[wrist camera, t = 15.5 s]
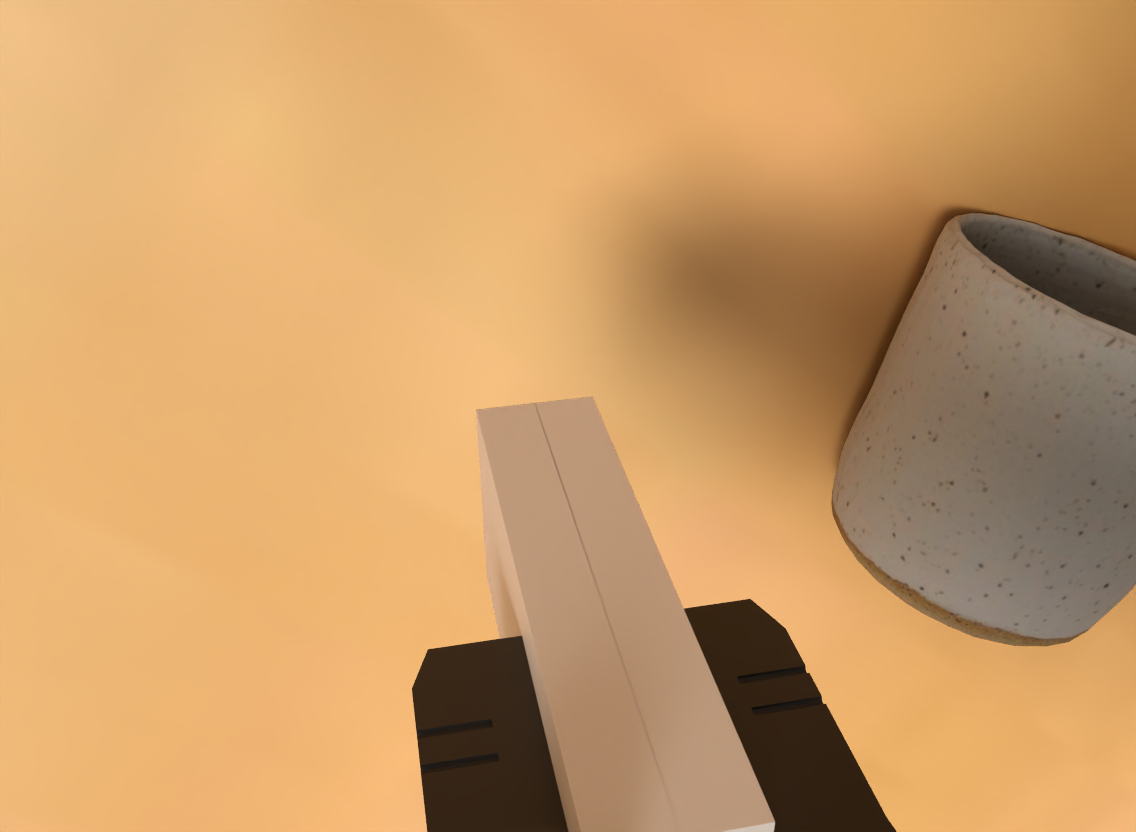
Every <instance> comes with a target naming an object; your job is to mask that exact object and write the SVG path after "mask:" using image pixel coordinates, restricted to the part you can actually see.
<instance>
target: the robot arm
mask: <svg viewBox="0 0 1136 832" xmlns="http://www.w3.org/2000/svg"><path fill="white" fill-rule="evenodd" d="M476 415H477V431H478V446H479V462H480V477H481V493H482V508H483V524H484V539H485V555H486V570H487V579H488V584H489V589H490V593H491V598H492V603H493V608H494V612H495V617H496V622H497V627H498V631H499V636H500V639H496V640H489V641H482V642H475V643H469V644H462V645H455V646H448V647H442V648H435V649H428V651H427V653H426V656H425V658H424V661H423V663H422V665H421V668H420V670H419V673H418V675H417V678H416V680H415V683H414V685H413V687H412V694H413V703H414V712H415V721H416V731H417V740H418V749H419V758H420V767H421V777H422V786H423V795H424V805H425V814H426V823H427V832H896V830H895V829H894V827H893V826H892V824H891V823H890V822H889V820H888V819H887V817H886V816H885V814H884V812H883V810H882V808H881V806H880V804H879V802H878V801H877V799H876V797H875V795H874V793H873V791H872V789H871V787H870V786H869V784H868V782H867V780H866V778H865V776H864V774H863V773H862V771H861V769H860V767H859V765H858V763H857V761H856V759H855V758H854V756H853V754H852V752H851V750H850V748H849V746H848V744H847V743H846V741H845V739H844V737H843V735H842V733H841V731H840V729H839V728H838V726H837V724H836V722H835V720H834V718H833V716H832V715H831V713H830V711H829V709H828V707H827V705H826V704H823V702H822V696H821V694H820V692H819V690H818V688H817V686H816V685H815V683H814V681H813V679H812V677H811V675H810V673H807V672H806V669H805V664H804V662H803V660H802V658H801V657H800V655H799V653H798V651H797V649H796V647H795V645H794V643H793V642H792V640H791V638H790V636H789V634H788V632H787V630H786V629H785V628H784V627H783V626H782V625H781V624H780V623H778V622H777V621H776V620H775V619H774V618H772V617H771V616H770V615H769V614H768V613H766V612H765V611H764V610H763V609H762V608H760V607H759V606H758V605H757V604H756V603H754V602H753V601H752V600H751V599H747V600H740V601H733V602H726V603H720V604H713V605H706V606H699V607H692V608H686V609H684V608H683V606H682V604H681V601H680V599H679V597H678V594H677V592H676V590H675V587H674V585H673V583H672V580H671V578H670V576H669V573H668V571H667V569H666V567H665V564H664V562H663V560H662V557H661V555H660V553H659V550H658V548H657V546H656V543H655V541H654V539H653V536H652V534H651V532H650V529H649V527H648V525H647V522H646V520H645V518H644V515H643V513H642V511H641V508H640V506H639V504H638V501H637V499H636V497H635V494H634V492H633V490H632V487H631V485H630V483H629V480H628V478H627V476H626V473H625V471H624V469H623V466H622V464H621V462H620V459H619V457H618V455H617V453H616V450H615V448H614V446H613V443H612V441H611V439H610V436H609V434H608V432H607V429H606V427H605V425H604V422H603V420H602V418H601V415H600V413H599V411H598V408H597V406H596V404H595V401H594V399H593V397H583V398H575V399H566V400H557V401H548V402H539V403H530V404H522V405H513V406H504V407H495V408H486V409H477V410H476Z"/></svg>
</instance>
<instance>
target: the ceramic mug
mask: <svg viewBox="0 0 1136 832" xmlns="http://www.w3.org/2000/svg"><path fill="white" fill-rule="evenodd" d="M832 512H833V516H834V519H835V521H836V524H837V526H838V529H839V531H840V533H841V535H842V537H843V539H844V541H845V543H846V544H847V546H848V547H849V549H850V550H851V551H852V553H853V554H854V556H855V557H856V559H857V560H858V561H859V562H860V563H861V564H862V565H863V567H864V568H865V569H866V570H867V571H868V572H869V573H870V574H871V575H872V576H873V577H874V578H875V579H876V580H877V581H878V582H879V583H881V584H882V585H883V586H885V587H886V588H887V589H888V590H890V591H891V592H892V593H894V594H895V595H896V596H898V597H899V598H900V599H901V600H903V601H904V602H905V603H907V604H908V605H910V606H912V607H913V608H915V609H917V610H918V611H920V612H921V613H923V614H925V615H927V616H929V617H931V618H933V619H935V620H937V621H939V622H941V623H943V624H945V625H947V626H949V627H952V628H954V629H957V630H959V631H961V632H964V633H966V634H969V635H971V636H973V637H977V638H981V639H985V640H990V641H994V642H999V643H1003V644H1008V645H1013V646H1050V645H1055V644H1060V643H1065V642H1069V641H1071V640H1073V639H1074V638H1076V637H1078V636H1079V635H1081V634H1083V633H1085V632H1086V631H1088V630H1089V629H1090V628H1091V627H1092V626H1093V625H1094V624H1095V623H1096V622H1098V621H1099V620H1100V619H1101V618H1102V617H1103V616H1104V615H1105V614H1106V613H1108V612H1109V611H1110V610H1111V609H1112V608H1113V607H1114V606H1115V605H1116V604H1117V603H1119V602H1120V601H1121V600H1122V599H1123V598H1124V596H1125V595H1126V594H1127V593H1128V592H1129V591H1130V590H1131V589H1132V588H1133V587H1134V586H1135V584H1136V261H1135V260H1133V259H1131V258H1129V257H1126V256H1123V255H1120V254H1117V253H1115V252H1113V251H1111V250H1108V249H1106V248H1104V247H1101V246H1099V245H1096V244H1094V243H1091V242H1088V241H1086V240H1084V239H1081V238H1079V237H1075V236H1071V235H1066V234H1063V233H1060V232H1056V231H1053V230H1050V229H1048V228H1045V227H1043V226H1040V225H1037V224H1034V223H1031V222H1026V221H1022V220H1017V219H1012V218H1007V217H1002V216H999V215H996V214H995V215H987V214H984V213H969V214H964V215H958V216H955V217H953V218H952V219H951V220H950V221H949V222H947V224H946V225H945V227H944V229H943V230H942V232H941V234H940V235H939V237H938V239H937V242H936V244H935V247H934V249H933V252H932V254H931V256H930V259H929V261H928V264H927V266H926V269H925V271H924V274H923V276H922V278H921V280H920V282H919V284H918V286H917V288H916V290H915V292H914V294H913V296H912V298H911V300H910V302H909V304H908V306H907V308H906V310H905V312H904V314H903V317H902V319H901V321H900V323H899V326H898V328H897V330H896V332H895V335H894V337H893V339H892V341H891V344H890V346H889V348H888V351H887V353H886V355H885V358H884V360H883V363H882V365H881V367H880V370H879V372H878V374H877V376H876V379H875V381H874V383H873V385H872V387H871V390H870V392H869V394H868V396H867V398H866V400H865V402H864V404H863V406H862V408H861V409H860V411H859V413H858V415H857V417H856V419H855V421H854V423H853V426H852V428H851V430H850V433H849V435H848V437H847V440H846V442H845V444H844V446H843V449H842V452H841V456H840V460H839V464H838V468H837V472H836V475H835V479H834V485H833V491H832Z"/></svg>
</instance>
